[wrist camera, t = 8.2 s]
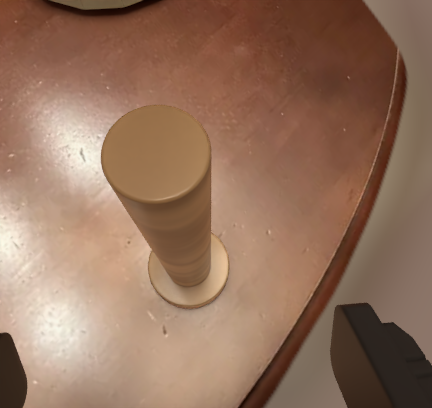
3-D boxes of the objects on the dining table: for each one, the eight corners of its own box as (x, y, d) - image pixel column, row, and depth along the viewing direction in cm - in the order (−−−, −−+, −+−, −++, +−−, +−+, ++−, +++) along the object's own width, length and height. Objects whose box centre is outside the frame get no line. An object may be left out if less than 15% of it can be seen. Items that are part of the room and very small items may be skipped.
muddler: (224, 229, 23) (246, 61, 9) (231, 305, 22) (269, 242, 8) (150, 235, 23) (57, 72, 9) (152, 312, 22) (45, 259, 8)
